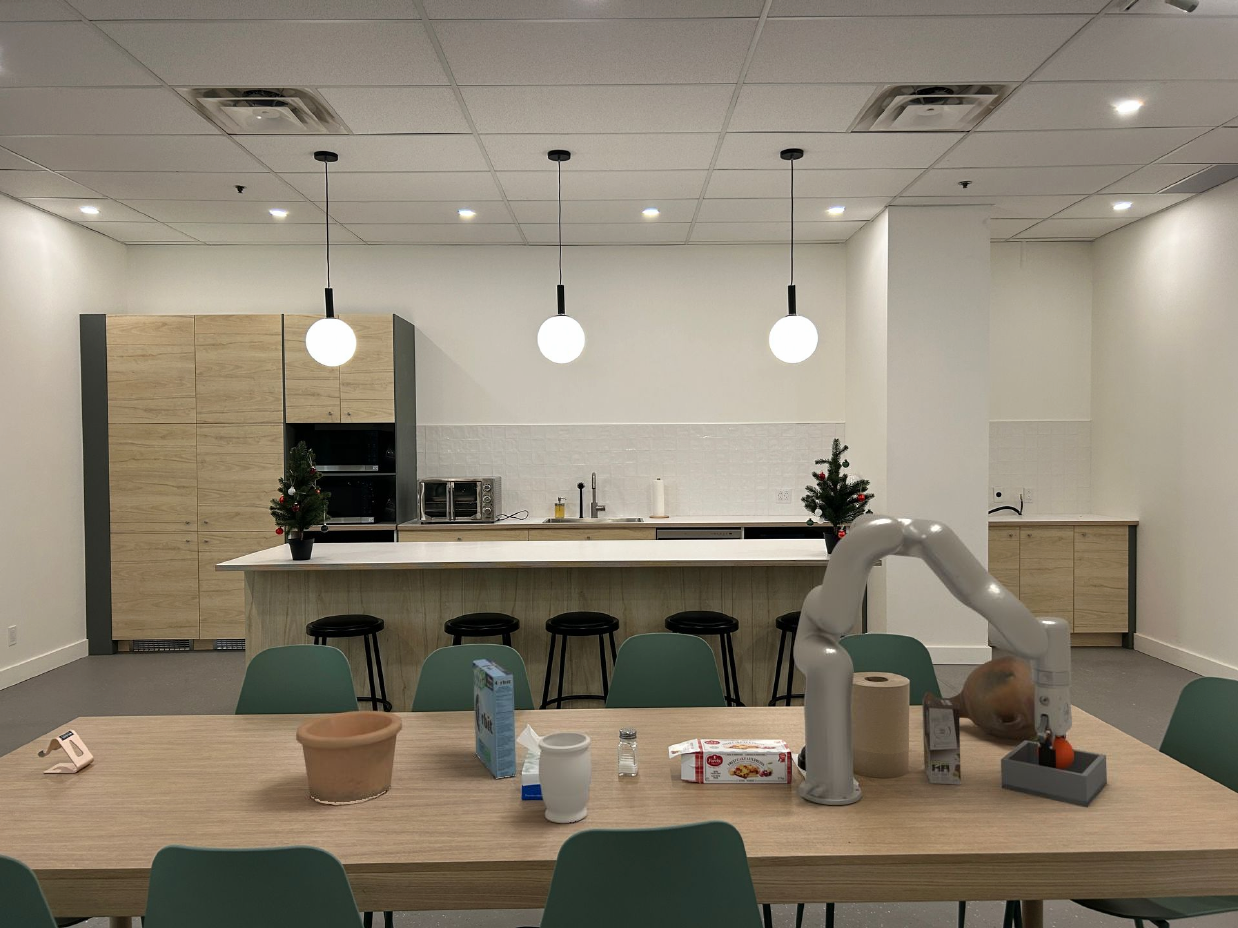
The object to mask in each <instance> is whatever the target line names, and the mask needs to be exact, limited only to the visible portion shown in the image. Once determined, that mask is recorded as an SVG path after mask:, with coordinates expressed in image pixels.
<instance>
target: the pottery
mask: <svg viewBox="0 0 1238 928" xmlns="http://www.w3.org/2000/svg"><path fill="white" fill-rule="evenodd" d="M402 730H403V722H402V718H401V716H399V715H397V714H396V713H392V712H386V711H381V710H356V711H346V712H338V713H331V714H328V715H324V716H323V715H322V716H320V717H316V718H313V719H311V720H309V721H306V722H304V723H303V724H301V725H300V726H298V727H297V729H296V734H295V739H296V741H297V742H298V743H299V744H300V745H301V746H302V751H303V759H304V764H305V769H306V776H307V782H308V788H309V794H310V795H311V796H312V797H314V799H319V800H320V801H328V802H335V803H336V802H350V801H356V800H362V799H366V798H369V797H373V796H377V795H378V794H381V793H382V792H384V791H386V790H387V789H388V788H389V787H390V786H391V787H392V778H393V777H392V776H393V768H394V760H395V754H396V753H395V752H396V751H395V750H396V743H397V735H398V734H399V732H401V731H402ZM391 787H390V788H391ZM310 795H309V796H310Z"/></svg>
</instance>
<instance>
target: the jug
mask: <svg viewBox="0 0 1238 928" xmlns="http://www.w3.org/2000/svg"><path fill="white" fill-rule="evenodd" d="M1035 686H1036V685H1034V684H1032V683H1031V668H1029V667H1028V666H1027V665H1026V664H1025V663H1024V662H1023V661H1022V660H1021V659H1019V657H1016V656H1015V657H1014V656H1002V657H997V658H994V659H991V660H989V661H986V662H984V663H983V664H980V665H979V666H978V667H976V668H974V670H972V672H970V674H969V675H967V678H966V679H965V681H964V683H963V688H962V689H961V691H960V692H959V693H958V694H956V695H954V696H951V697H950V698H951V699H952V700H953V701H954V703H955V704H956V705H957V706H958V708H959V719H960V718H961V719H969V720H970V721H971V722H972V723H973V725H975V726H976V727H977V728H978V729H980V731H983V732H985V733H987V734H989V735H992V736H995V737H998V738H1001V739H1002V738H1003V739H1008V740H1009V739H1011V740H1014V739H1015V740H1022V739H1029V738H1030V739H1031V738H1034V737H1037V736H1038V735H1037V731H1036V730H1035ZM923 698H936V696H935V695H934V694H933V693H932V692H930V691H927V692H926V693H925V695H924V697H923Z"/></svg>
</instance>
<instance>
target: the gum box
mask: <svg viewBox="0 0 1238 928" xmlns="http://www.w3.org/2000/svg"><path fill="white" fill-rule="evenodd" d="M472 668H473V670H472V672H473V674H472V675H473V702H474V704H473V705H474V731H475V754H476V753H477V755H478V756H479V757H480V759H481V760H482V761H483V762H482V761H481V760H480V759H479V760H480V761H481V762H482V764H483V763H484V764H485V765H486V766H487V767H486V766H485V765H484V764H483V765H484V766H485V767H486V768H487V770H488V769H489V770H490V771H491V772H492V773H491V772H490V771H489V770H488V771H489V772H490V773H491V775H492V774H493V775H494V776H495V777H496V778H498V777H505V776H513V775H514V777H516V776H517V760H516V758H517V753H516V728H515V725H516V722H515V699H514V694H515V693H514V674H513V673H511V672H509V671H508V670H507V669H505V668H504V667H502V666H501V665H500V664H499V663H497V662H496V661H494V660H493V659H492V658H483V659H477V660H473V661H472ZM477 755H476V756H477ZM478 756H477V757H478ZM479 757H478V758H479ZM493 775H492V776H493ZM515 775H516V776H515ZM494 776H493V777H494ZM495 777H494V778H495ZM496 778H495V779H496Z"/></svg>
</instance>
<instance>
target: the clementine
mask: <svg viewBox="0 0 1238 928" xmlns="http://www.w3.org/2000/svg"><path fill="white" fill-rule="evenodd" d="M1046 738H1048V739H1049V741H1050V739H1051V737H1046ZM1036 741H1038V737H1036V738H1035V739H1033V741H1032V742H1036ZM1032 744H1033V743H1032ZM1031 746H1032V745H1031ZM1054 749H1056V768H1055V769H1060V770H1064V769H1066V768H1068V767H1069V766H1070V765H1071V764H1072V762H1073V760H1074V751H1073V749H1074V748H1073V746H1072V745H1071V743H1070V742H1069V741H1068V740H1067V739H1064V738H1062V737H1057V736H1056V735H1055V743H1054ZM1037 755H1038V746H1037ZM1038 757H1039V756H1038Z"/></svg>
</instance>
